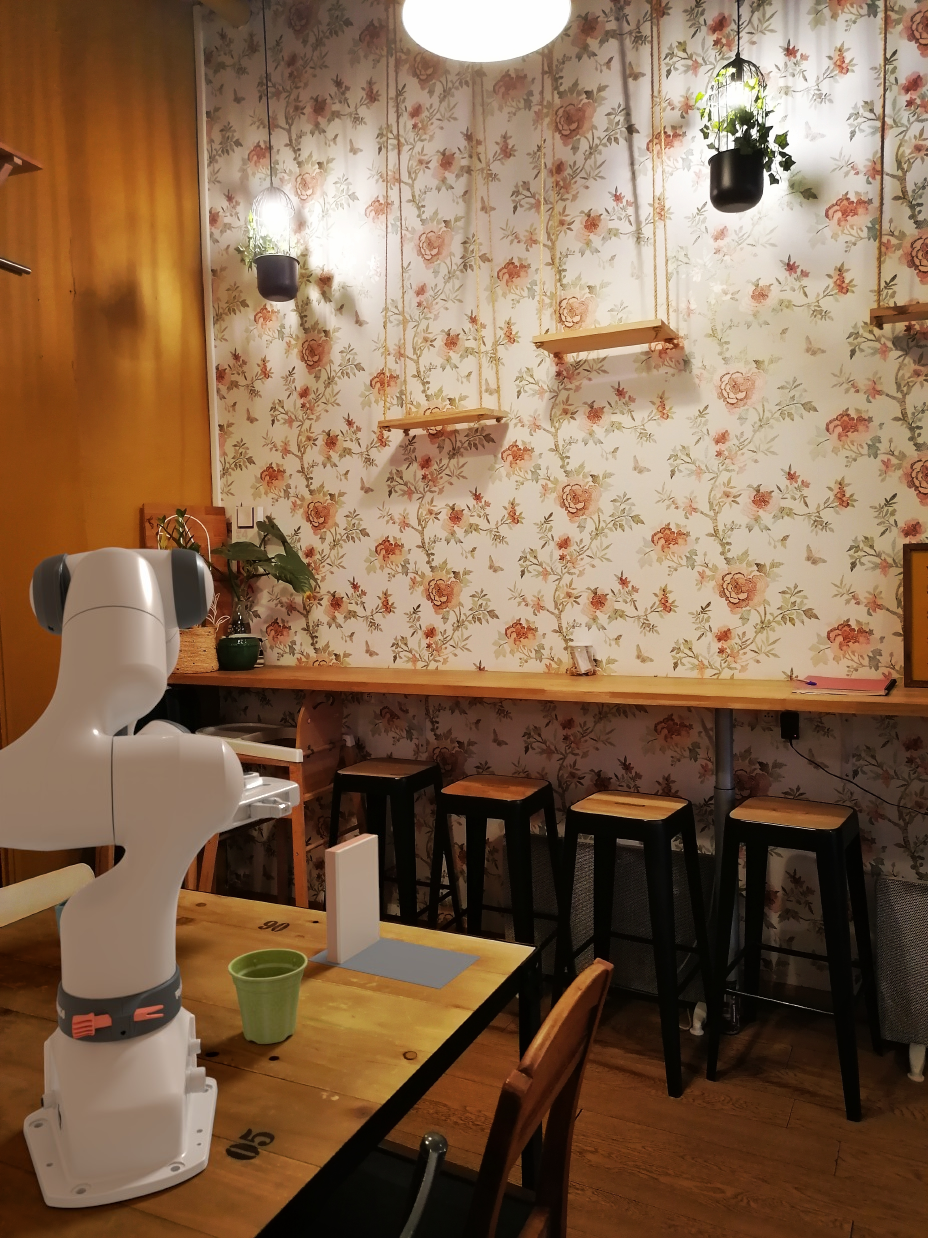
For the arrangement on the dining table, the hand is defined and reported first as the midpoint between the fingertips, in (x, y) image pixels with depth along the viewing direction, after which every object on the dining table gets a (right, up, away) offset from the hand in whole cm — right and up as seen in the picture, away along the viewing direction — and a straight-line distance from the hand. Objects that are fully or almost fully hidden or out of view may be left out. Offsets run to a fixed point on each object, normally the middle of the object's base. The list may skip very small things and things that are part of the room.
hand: (285, 810), depth 143 cm
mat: (+17, -20, -9) cm, 28 cm away
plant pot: (+4, -21, -30) cm, 37 cm away
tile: (+11, -20, -5) cm, 23 cm away
